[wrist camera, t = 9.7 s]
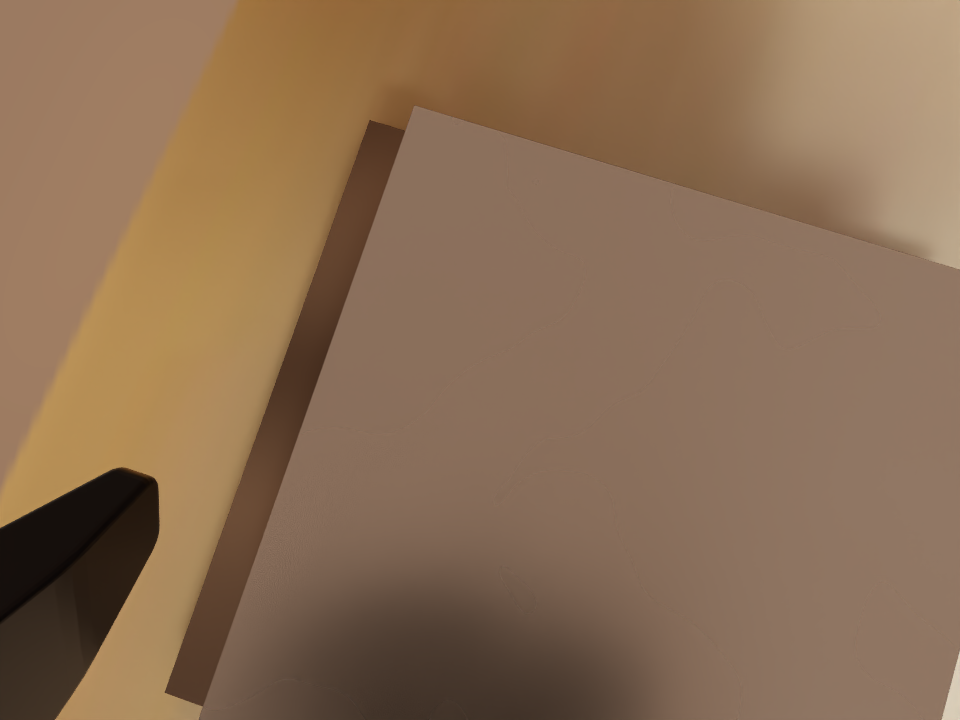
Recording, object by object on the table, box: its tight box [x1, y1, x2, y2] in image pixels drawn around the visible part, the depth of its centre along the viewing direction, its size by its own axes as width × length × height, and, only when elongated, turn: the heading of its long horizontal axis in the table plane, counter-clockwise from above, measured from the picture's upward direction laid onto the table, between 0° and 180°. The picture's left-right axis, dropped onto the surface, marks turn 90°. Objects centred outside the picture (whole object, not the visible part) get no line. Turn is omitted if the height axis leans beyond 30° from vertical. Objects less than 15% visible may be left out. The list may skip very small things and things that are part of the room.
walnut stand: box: [165, 120, 405, 706], centre depth 19 cm, size 13×13×3 cm
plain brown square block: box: [199, 105, 960, 720], centre depth 12 cm, size 6×6×10 cm
